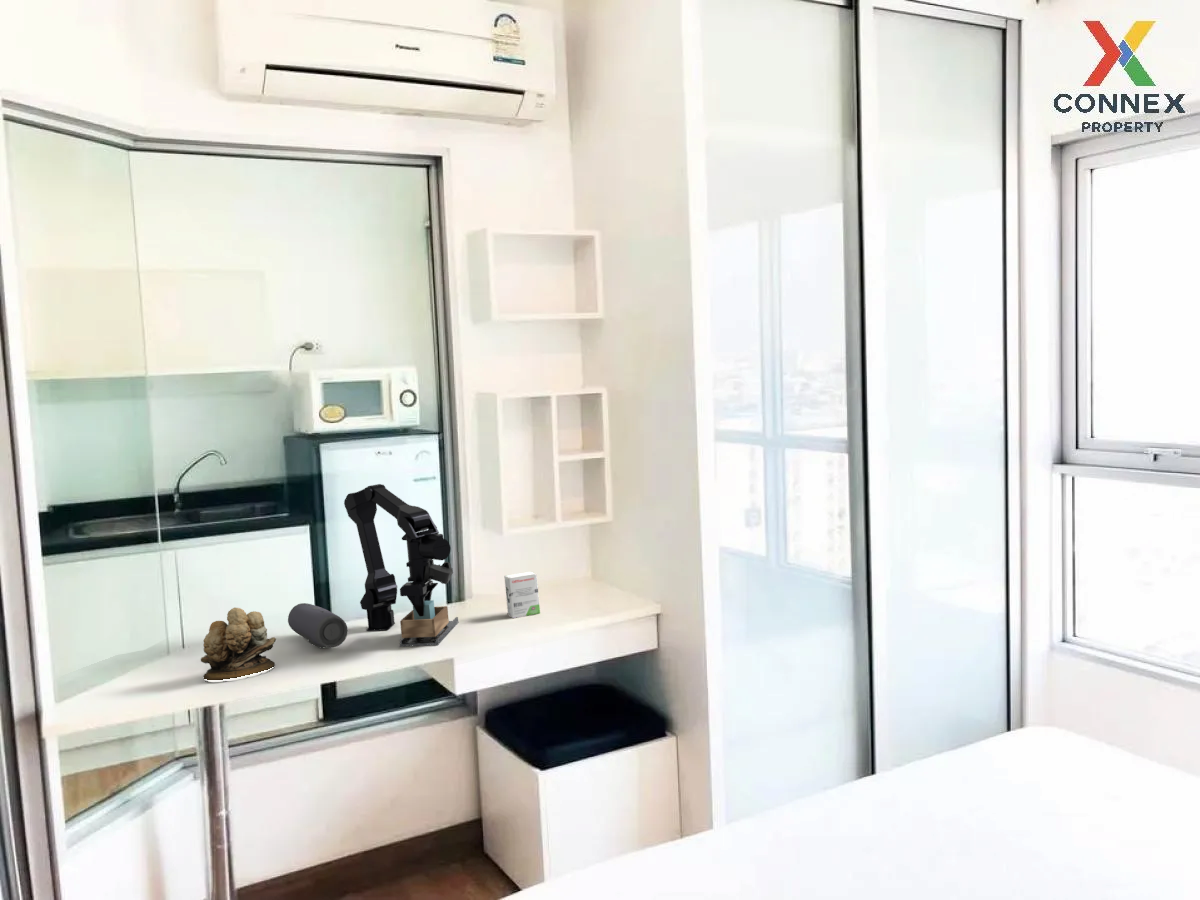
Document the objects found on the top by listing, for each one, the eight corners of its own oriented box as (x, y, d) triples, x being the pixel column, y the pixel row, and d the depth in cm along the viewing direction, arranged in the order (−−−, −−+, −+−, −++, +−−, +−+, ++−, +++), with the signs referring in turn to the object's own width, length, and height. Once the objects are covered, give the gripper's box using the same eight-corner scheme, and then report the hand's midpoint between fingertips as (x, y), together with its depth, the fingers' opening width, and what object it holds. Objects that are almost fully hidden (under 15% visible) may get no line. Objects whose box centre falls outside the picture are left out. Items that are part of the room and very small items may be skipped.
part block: (414, 621, 259) (412, 605, 259) (419, 617, 264) (417, 601, 263) (430, 621, 259) (429, 604, 259) (435, 616, 263) (433, 600, 263)
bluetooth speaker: (352, 647, 258) (348, 611, 257) (318, 656, 253) (314, 618, 252) (320, 632, 276) (316, 597, 275) (287, 639, 271) (284, 605, 270)
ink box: (535, 609, 283) (531, 570, 282) (540, 613, 278) (537, 573, 277) (507, 614, 280) (503, 574, 279) (512, 618, 275) (508, 578, 274)
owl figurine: (275, 660, 252) (268, 596, 251) (282, 672, 242) (275, 605, 240) (201, 674, 244) (194, 608, 242) (205, 687, 234) (198, 618, 232)
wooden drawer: (402, 642, 256) (400, 620, 255) (417, 628, 269) (415, 607, 268) (435, 640, 255) (434, 619, 254) (449, 626, 268) (447, 606, 267)
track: (399, 646, 256) (399, 640, 255) (423, 624, 276) (422, 618, 276) (438, 645, 254) (437, 639, 254) (458, 622, 275) (458, 617, 275)
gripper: (438, 563, 250) (443, 622, 251) (457, 548, 268) (461, 603, 270) (396, 565, 251) (402, 623, 252) (418, 550, 269) (423, 605, 271)
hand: (424, 613), depth 261 cm, fingers closed on part block, 4 cm apart
